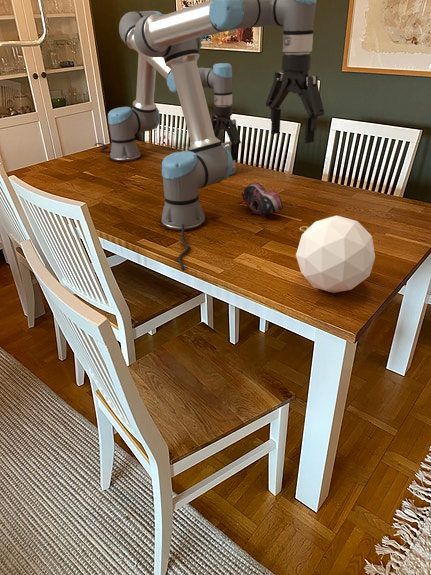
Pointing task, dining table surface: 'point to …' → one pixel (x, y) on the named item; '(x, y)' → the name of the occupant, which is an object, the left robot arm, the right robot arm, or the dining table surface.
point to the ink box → (230, 152)
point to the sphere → (335, 254)
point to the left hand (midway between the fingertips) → (224, 156)
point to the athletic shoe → (261, 200)
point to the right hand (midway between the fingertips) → (291, 137)
